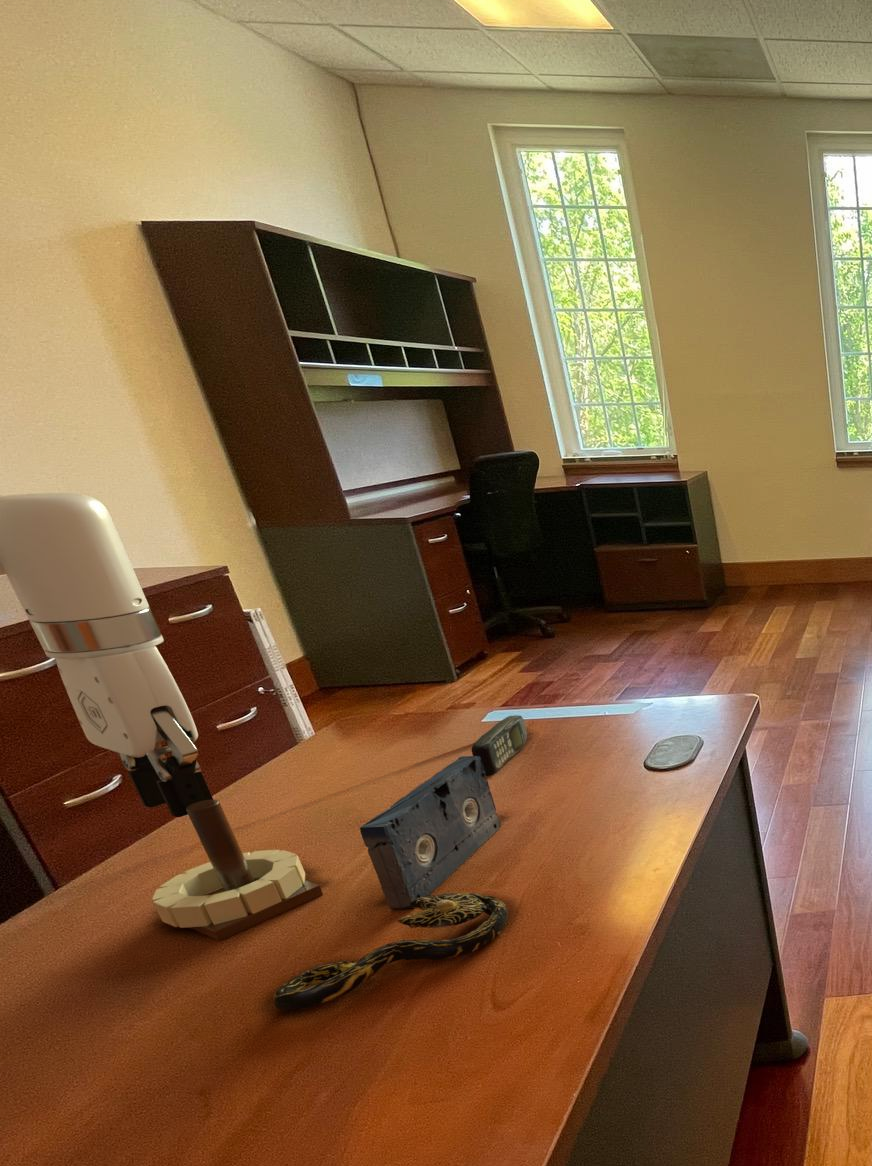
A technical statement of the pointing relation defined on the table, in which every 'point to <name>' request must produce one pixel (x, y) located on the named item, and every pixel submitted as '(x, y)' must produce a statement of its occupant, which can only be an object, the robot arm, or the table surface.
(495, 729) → the mobile phone
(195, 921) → the cream segmented ring
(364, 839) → the vhs cassette tape
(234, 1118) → the table surface
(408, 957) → the rubber snake
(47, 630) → the robot arm
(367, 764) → the table surface
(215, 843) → the post
